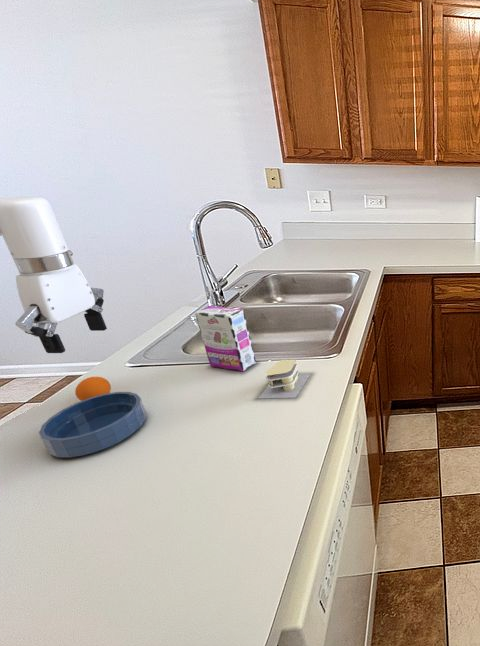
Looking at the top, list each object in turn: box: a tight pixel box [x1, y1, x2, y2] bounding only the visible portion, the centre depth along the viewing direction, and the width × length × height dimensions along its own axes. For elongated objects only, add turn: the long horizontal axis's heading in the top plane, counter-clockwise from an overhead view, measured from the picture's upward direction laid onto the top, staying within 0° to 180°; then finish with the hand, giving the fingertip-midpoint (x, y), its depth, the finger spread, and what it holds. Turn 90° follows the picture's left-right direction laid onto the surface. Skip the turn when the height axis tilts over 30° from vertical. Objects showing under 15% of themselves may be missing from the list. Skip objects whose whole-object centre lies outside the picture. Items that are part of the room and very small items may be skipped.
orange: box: [74, 376, 112, 401], centre depth 93 cm, size 6×6×6 cm
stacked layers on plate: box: [258, 359, 311, 399], centre depth 99 cm, size 10×9×6 cm
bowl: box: [38, 391, 147, 458], centre depth 83 cm, size 15×15×5 cm
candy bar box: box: [194, 305, 257, 372], centre depth 106 cm, size 11×5×16 cm, turn 76°
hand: (78, 340), depth 83 cm, fingers open, 9 cm apart
